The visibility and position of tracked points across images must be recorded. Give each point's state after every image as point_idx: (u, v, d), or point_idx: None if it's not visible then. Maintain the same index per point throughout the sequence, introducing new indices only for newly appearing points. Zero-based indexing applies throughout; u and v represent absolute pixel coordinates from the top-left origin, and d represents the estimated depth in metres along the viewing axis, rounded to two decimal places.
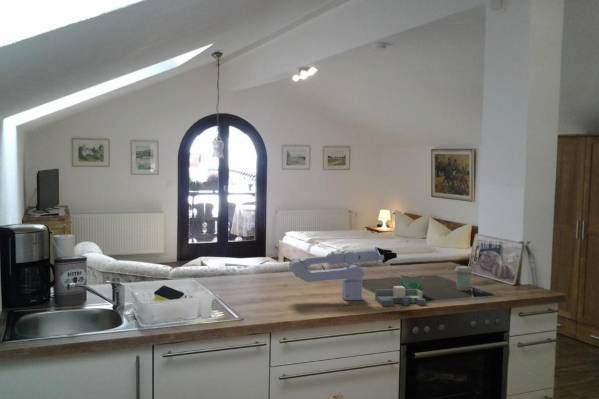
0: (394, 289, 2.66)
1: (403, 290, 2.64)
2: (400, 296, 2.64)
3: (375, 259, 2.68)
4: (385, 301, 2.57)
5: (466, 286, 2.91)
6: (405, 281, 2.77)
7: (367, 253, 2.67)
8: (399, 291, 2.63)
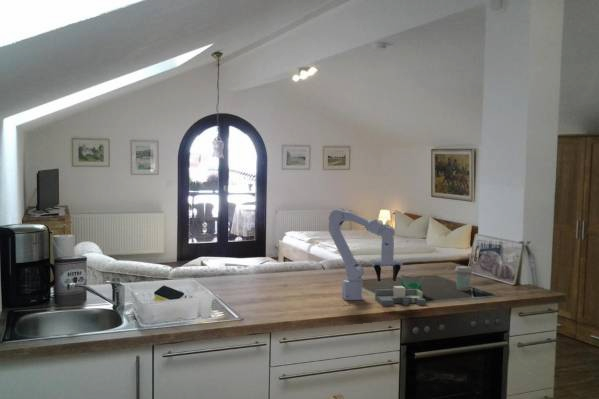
0: (394, 289, 2.66)
1: (403, 290, 2.64)
2: (400, 296, 2.64)
3: None
4: (385, 301, 2.57)
5: (466, 286, 2.91)
6: (405, 281, 2.77)
7: (389, 252, 2.61)
8: (399, 291, 2.63)
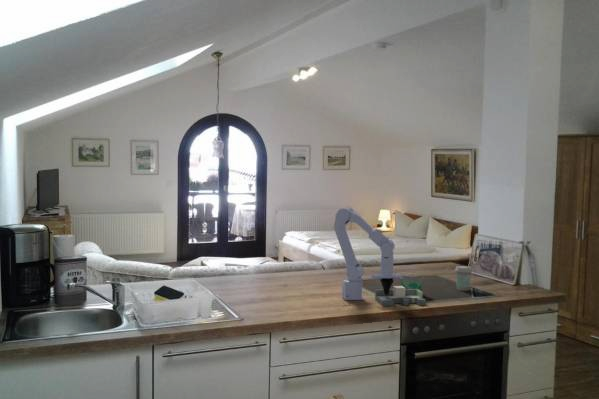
0: (394, 289, 2.66)
1: (403, 290, 2.64)
2: (400, 296, 2.64)
3: None
4: (385, 301, 2.57)
5: (466, 286, 2.91)
6: (405, 281, 2.77)
7: (389, 266, 2.61)
8: (399, 291, 2.63)
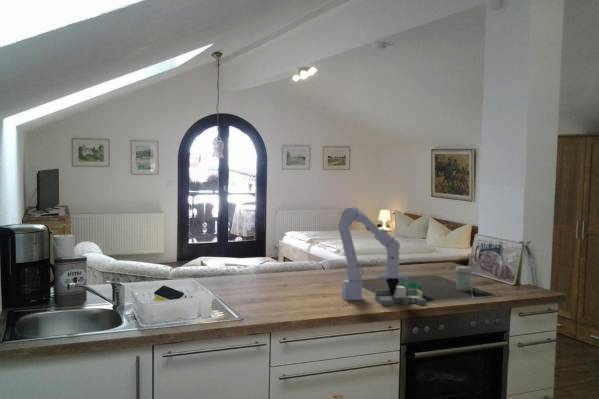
0: (395, 289, 2.66)
1: (404, 290, 2.64)
2: (401, 296, 2.64)
3: None
4: (385, 301, 2.57)
5: (466, 286, 2.91)
6: (405, 281, 2.77)
7: (395, 266, 2.62)
8: (400, 291, 2.64)
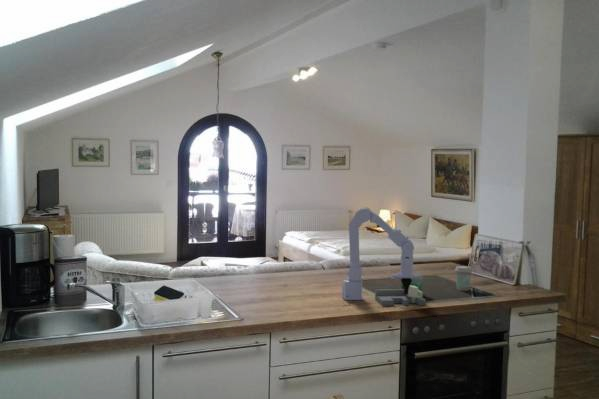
0: None
1: (416, 290, 2.65)
2: (412, 295, 2.65)
3: None
4: (385, 301, 2.57)
5: (466, 286, 2.91)
6: None
7: (410, 266, 2.63)
8: (412, 290, 2.64)
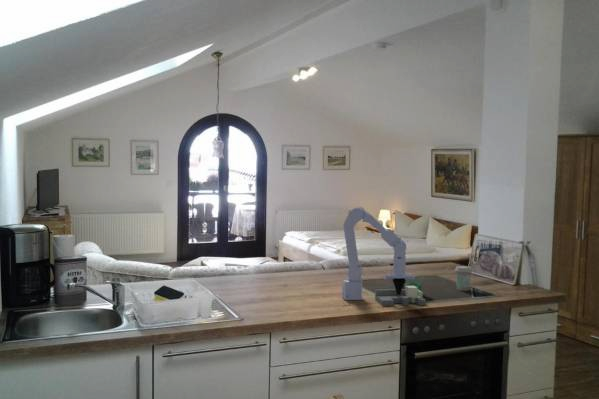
0: (406, 289, 2.67)
1: (415, 290, 2.65)
2: (412, 296, 2.65)
3: None
4: (385, 301, 2.57)
5: (466, 286, 2.91)
6: None
7: (402, 266, 2.62)
8: (411, 291, 2.64)
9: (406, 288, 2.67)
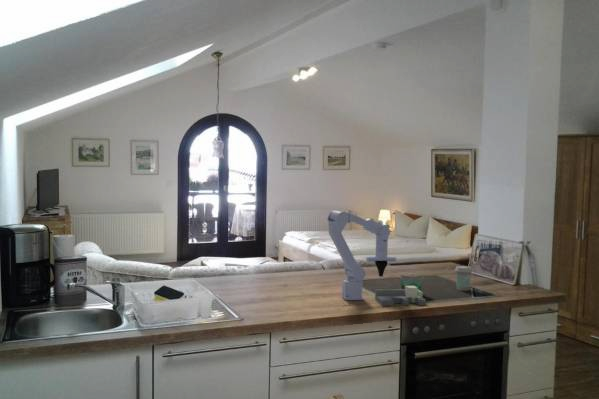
0: (406, 289, 2.67)
1: (415, 290, 2.65)
2: (412, 296, 2.65)
3: None
4: (385, 301, 2.57)
5: (466, 286, 2.91)
6: (405, 281, 2.77)
7: (387, 248, 2.73)
8: (411, 291, 2.64)
9: (406, 288, 2.67)
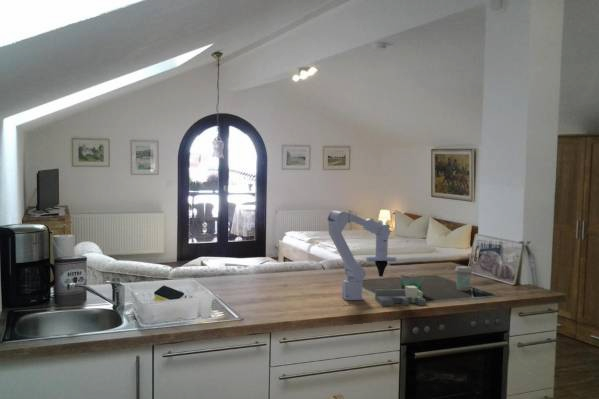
0: (406, 289, 2.67)
1: (415, 290, 2.65)
2: (412, 296, 2.65)
3: None
4: (385, 301, 2.57)
5: (466, 286, 2.91)
6: (405, 281, 2.77)
7: (387, 248, 2.73)
8: (411, 291, 2.64)
9: (406, 288, 2.67)
